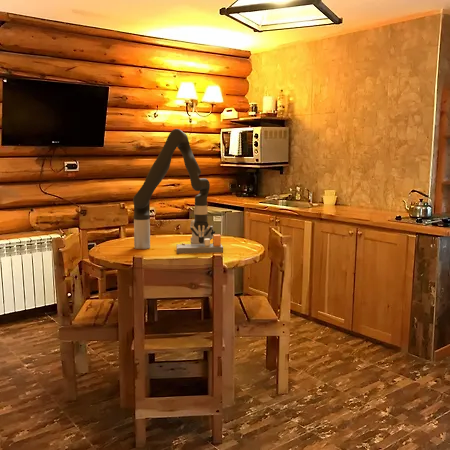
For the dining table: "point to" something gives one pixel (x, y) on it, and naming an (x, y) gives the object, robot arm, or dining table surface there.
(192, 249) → the breaker panel
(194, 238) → the circuit breaker
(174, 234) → the dining table surface
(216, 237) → the cap
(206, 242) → the switch
